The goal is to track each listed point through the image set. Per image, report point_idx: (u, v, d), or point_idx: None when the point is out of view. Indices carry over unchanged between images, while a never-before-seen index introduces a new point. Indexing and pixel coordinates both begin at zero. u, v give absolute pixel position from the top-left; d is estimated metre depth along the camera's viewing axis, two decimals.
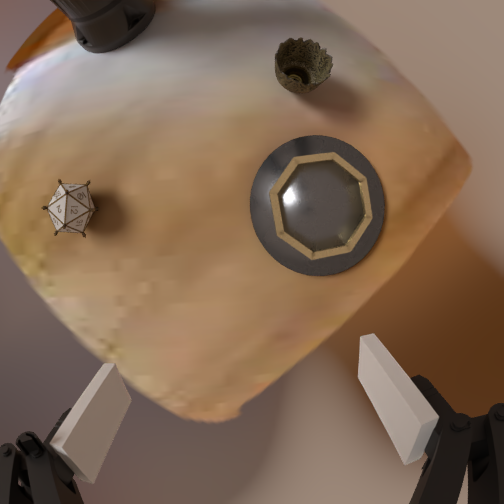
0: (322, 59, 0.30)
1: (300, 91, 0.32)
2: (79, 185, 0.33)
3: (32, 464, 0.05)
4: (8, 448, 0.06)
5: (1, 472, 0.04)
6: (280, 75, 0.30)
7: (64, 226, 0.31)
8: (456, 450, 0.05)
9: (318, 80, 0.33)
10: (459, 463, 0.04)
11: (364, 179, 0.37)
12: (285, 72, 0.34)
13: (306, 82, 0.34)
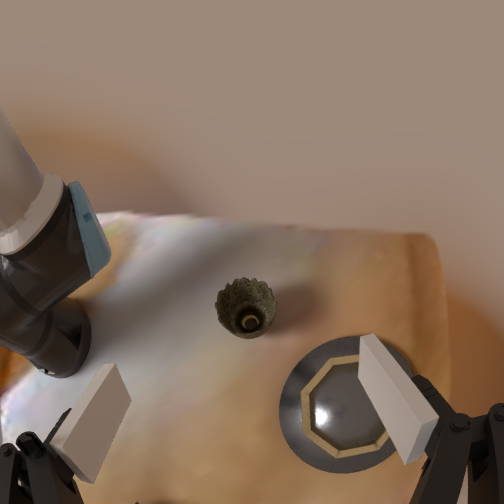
0: (258, 288, 0.37)
1: (263, 333, 0.35)
2: None
3: (32, 464, 0.05)
4: (8, 448, 0.06)
5: (1, 472, 0.04)
6: (236, 334, 0.33)
7: None
8: (456, 450, 0.05)
9: (269, 308, 0.38)
10: (459, 463, 0.04)
11: None
12: (237, 321, 0.39)
13: (261, 316, 0.39)
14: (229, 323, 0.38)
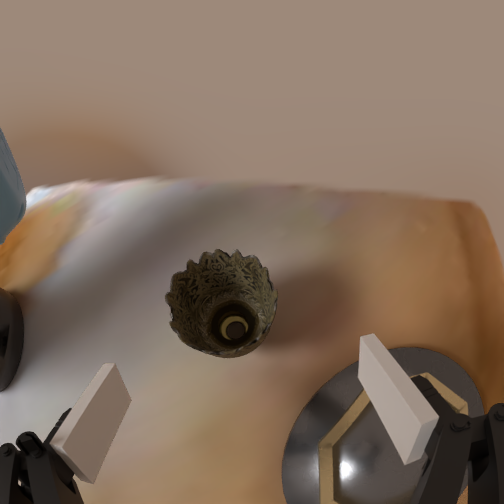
0: (245, 269, 0.21)
1: None
2: None
3: (32, 464, 0.05)
4: (8, 448, 0.06)
5: (1, 472, 0.04)
6: None
7: None
8: (456, 450, 0.05)
9: (265, 305, 0.22)
10: (459, 463, 0.04)
11: (427, 376, 0.19)
12: (212, 326, 0.23)
13: (251, 319, 0.23)
14: (197, 330, 0.22)
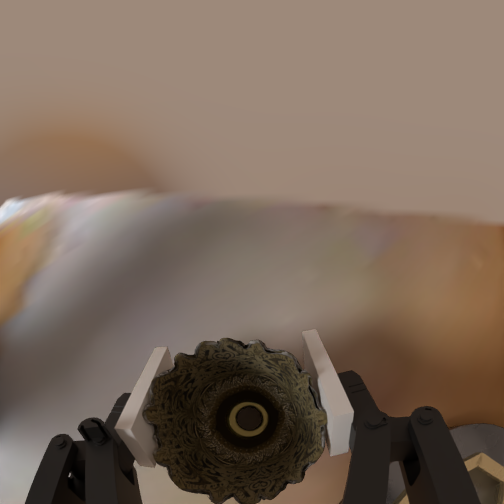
0: (269, 361, 0.12)
1: (280, 467, 0.11)
2: None
3: (92, 451, 0.07)
4: (63, 440, 0.07)
5: (50, 465, 0.06)
6: None
7: None
8: (375, 447, 0.06)
9: (295, 402, 0.13)
10: (380, 459, 0.06)
11: (481, 457, 0.10)
12: (217, 421, 0.14)
13: (273, 412, 0.15)
14: (197, 431, 0.13)
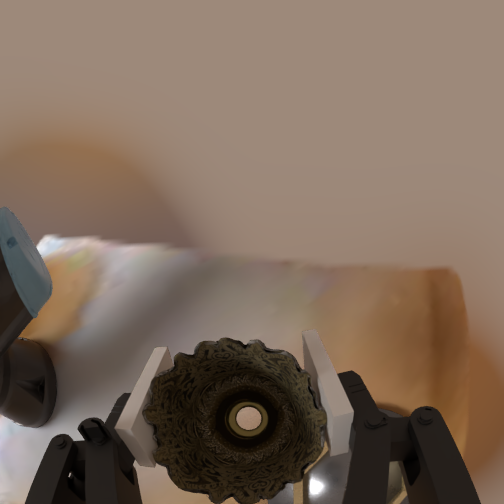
0: (268, 361, 0.12)
1: None
2: None
3: (92, 451, 0.07)
4: (63, 440, 0.07)
5: (50, 465, 0.06)
6: None
7: None
8: (375, 447, 0.06)
9: (295, 402, 0.13)
10: (380, 459, 0.06)
11: None
12: (217, 421, 0.14)
13: (272, 412, 0.15)
14: (196, 431, 0.13)
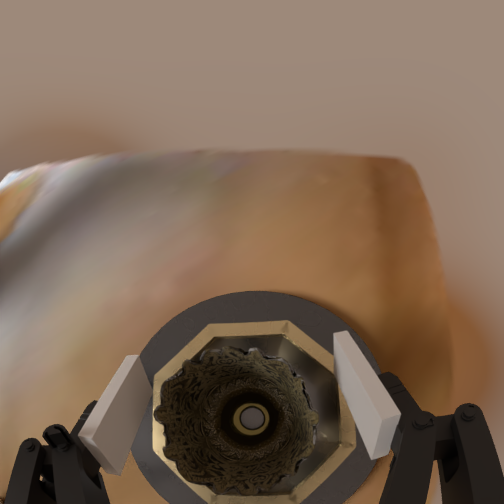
0: (268, 366, 0.14)
1: None
2: None
3: (58, 457, 0.06)
4: (32, 443, 0.06)
5: (22, 468, 0.05)
6: (214, 480, 0.10)
7: None
8: (420, 448, 0.06)
9: (293, 403, 0.14)
10: (424, 460, 0.05)
11: (287, 325, 0.20)
12: (222, 421, 0.16)
13: (273, 413, 0.16)
14: (203, 430, 0.14)
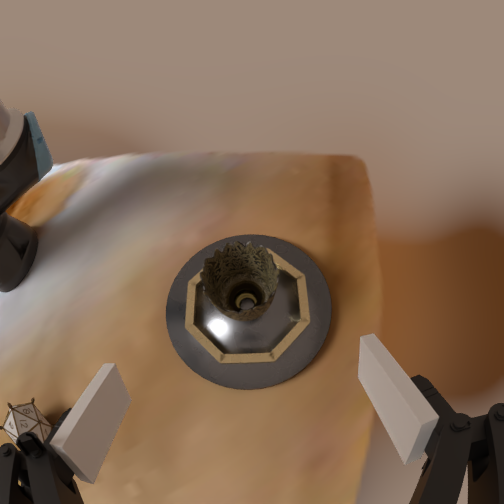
0: (255, 255, 0.29)
1: (262, 313, 0.28)
2: (25, 404, 0.24)
3: (32, 464, 0.05)
4: (8, 448, 0.06)
5: (1, 472, 0.04)
6: (227, 313, 0.26)
7: None
8: (456, 450, 0.05)
9: (269, 283, 0.30)
10: (459, 463, 0.04)
11: (267, 250, 0.36)
12: (230, 300, 0.31)
13: (259, 294, 0.31)
14: (219, 302, 0.30)
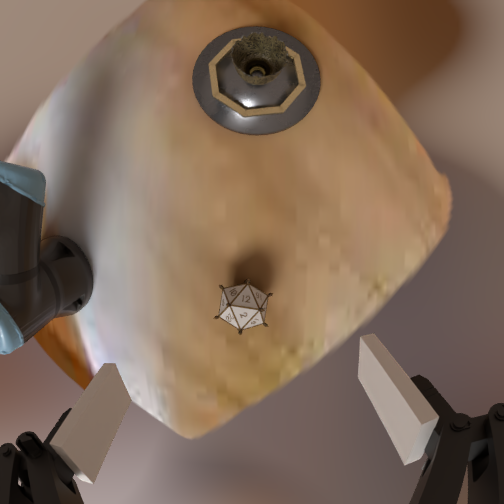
0: (248, 41, 0.30)
1: (281, 65, 0.33)
2: (223, 295, 0.42)
3: (32, 464, 0.05)
4: (8, 448, 0.06)
5: (1, 472, 0.04)
6: (274, 76, 0.32)
7: (261, 309, 0.38)
8: (456, 450, 0.05)
9: (264, 50, 0.33)
10: (459, 463, 0.04)
11: (233, 40, 0.35)
12: None
13: (262, 62, 0.35)
14: (251, 82, 0.35)
